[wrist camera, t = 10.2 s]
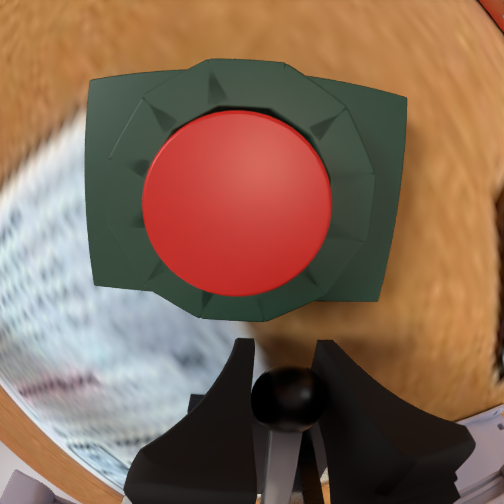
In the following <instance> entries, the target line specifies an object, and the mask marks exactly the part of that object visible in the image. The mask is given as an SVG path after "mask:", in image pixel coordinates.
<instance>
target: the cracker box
mask: <svg viewBox="0 0 504 504" xmlns="http://www.w3.org/2000/svg"><path fill="white" fill-rule="evenodd" d="M479 1H480V3H481V4H482V5H483V6H484V7H485V9H486V10H487V11H488V12H489V14H490V15H491V16H492V18H493V19H494V20H495V22H496V23H497V24H498V26H499V27H500V28H501V30H502V31H503V33H504V0H479Z"/></svg>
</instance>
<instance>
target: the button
mask: <svg viewBox="0 0 504 504" xmlns="http://www.w3.org/2000/svg"><path fill="white" fill-rule="evenodd" d="M142 209H143V218H144V223H145V228H146V231H147V234H148V236H149V239H150V241H151V243H152V245H153V247H154V249H155V251H156V252H157V254H158V255H159V257H160V258H161V260H162V261H163V262H164V263H165V264H166V265H167V267H168V268H169V269H170V270H171V271H173V272H174V273H175V274H176V275H177V276H178V277H180V278H181V279H183V280H184V281H186V282H187V283H189V284H191V285H193V286H194V287H196V288H198V289H201V290H204V291H207V292H209V293H213V294H218V295H224V296H251V295H257V294H261V293H265V292H268V291H271V290H273V289H276V288H278V287H280V286H282V285H284V284H286V283H287V282H289V281H290V280H292V279H293V278H295V277H296V276H297V275H298V274H299V273H301V272H302V271H303V270H304V269H305V268H306V267H307V266H308V265H309V263H310V262H311V261H312V260H313V259H314V257H315V256H316V254H317V253H318V251H319V250H320V248H321V246H322V244H323V242H324V240H325V237H326V235H327V232H328V229H329V225H330V220H331V213H332V194H331V187H330V183H329V178H328V175H327V173H326V170H325V167H324V165H323V163H322V161H321V159H320V157H319V155H318V154H317V153H316V151H315V150H314V148H313V147H312V146H311V144H310V143H309V142H308V141H307V140H306V139H305V138H304V137H303V136H302V135H301V134H300V133H298V132H297V131H296V130H295V129H293V128H292V127H291V126H289V125H287V124H286V123H284V122H282V121H280V120H278V119H276V118H273V117H271V116H269V115H265V114H261V113H257V112H252V111H244V110H230V111H222V112H216V113H212V114H209V115H206V116H203V117H200V118H198V119H196V120H194V121H192V122H190V123H188V124H187V125H185V126H184V127H182V128H180V129H179V130H178V131H177V132H176V133H174V134H173V135H172V136H171V137H170V138H169V139H168V140H167V141H166V142H165V143H164V145H163V146H162V147H161V148H160V150H159V151H158V153H157V154H156V156H155V157H154V159H153V161H152V163H151V165H150V167H149V170H148V173H147V176H146V179H145V183H144V188H143V197H142Z"/></svg>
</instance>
